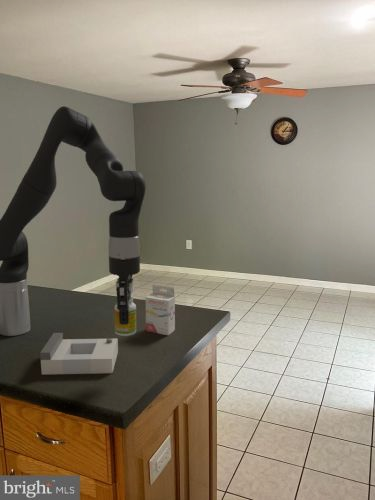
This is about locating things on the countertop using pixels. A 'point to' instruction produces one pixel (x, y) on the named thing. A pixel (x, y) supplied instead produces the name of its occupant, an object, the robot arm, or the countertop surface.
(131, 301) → the supplement bottle
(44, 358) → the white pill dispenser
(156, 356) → the countertop surface
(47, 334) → the countertop surface
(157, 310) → the ink cartridge box
